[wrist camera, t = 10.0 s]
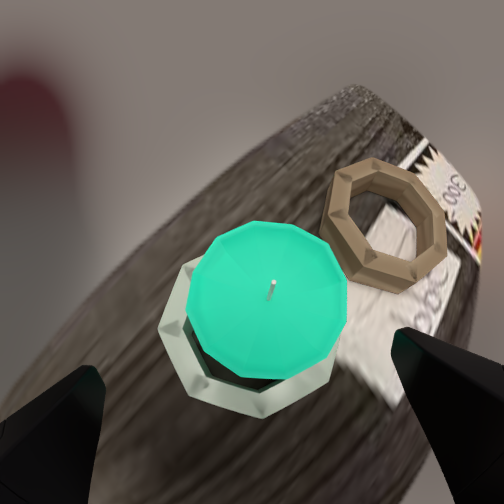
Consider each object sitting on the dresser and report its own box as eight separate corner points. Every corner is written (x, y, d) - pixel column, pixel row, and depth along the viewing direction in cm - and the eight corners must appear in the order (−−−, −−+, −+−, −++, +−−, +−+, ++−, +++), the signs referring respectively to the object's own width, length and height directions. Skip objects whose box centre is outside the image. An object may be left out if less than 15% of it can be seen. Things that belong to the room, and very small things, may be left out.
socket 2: (446, 253, 22) (463, 240, 19) (370, 314, 20) (387, 305, 17) (382, 168, 26) (393, 149, 23) (297, 204, 24) (303, 183, 21)
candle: (261, 277, 21) (277, 171, 10) (316, 336, 19) (399, 288, 8) (198, 328, 19) (138, 270, 8) (253, 391, 18) (264, 425, 7)
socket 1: (353, 356, 18) (369, 353, 16) (218, 430, 16) (213, 440, 13) (280, 236, 22) (284, 217, 20) (153, 297, 20) (139, 285, 17)
